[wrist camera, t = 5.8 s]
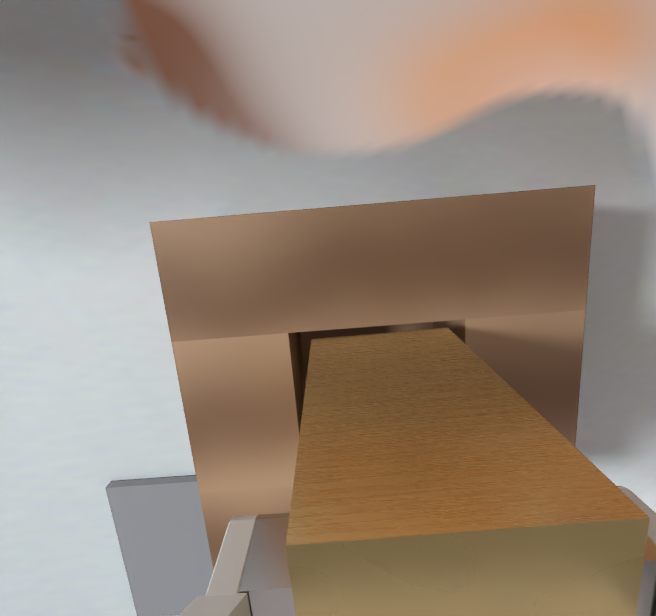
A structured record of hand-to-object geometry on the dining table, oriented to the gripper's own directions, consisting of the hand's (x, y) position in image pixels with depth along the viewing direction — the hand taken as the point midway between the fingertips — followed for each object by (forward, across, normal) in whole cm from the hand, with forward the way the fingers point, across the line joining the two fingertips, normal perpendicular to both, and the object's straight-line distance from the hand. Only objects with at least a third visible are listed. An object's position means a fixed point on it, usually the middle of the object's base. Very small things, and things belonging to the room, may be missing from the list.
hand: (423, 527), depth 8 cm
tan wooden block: (+6, 0, 0) cm, 6 cm away
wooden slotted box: (+14, 0, +1) cm, 14 cm away
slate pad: (+14, +11, +14) cm, 22 cm away
